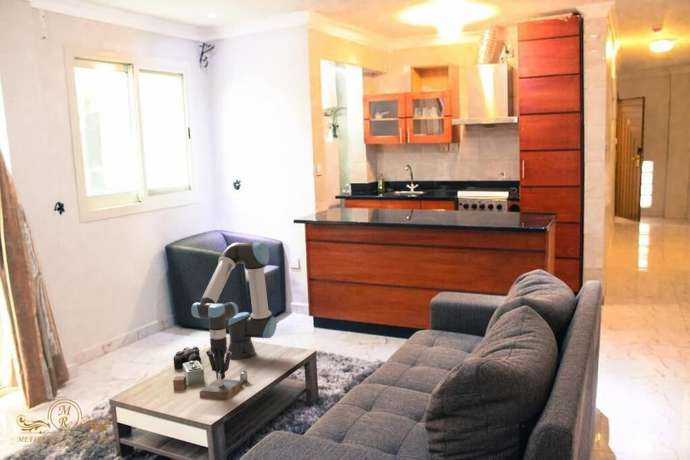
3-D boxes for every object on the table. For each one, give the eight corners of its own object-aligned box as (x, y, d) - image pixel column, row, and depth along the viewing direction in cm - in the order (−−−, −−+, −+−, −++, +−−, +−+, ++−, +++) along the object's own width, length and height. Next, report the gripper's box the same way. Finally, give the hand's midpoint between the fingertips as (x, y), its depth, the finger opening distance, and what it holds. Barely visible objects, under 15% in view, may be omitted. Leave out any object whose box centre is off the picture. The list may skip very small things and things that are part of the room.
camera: (184, 373, 300) (182, 354, 299) (172, 369, 306) (171, 351, 305) (208, 364, 312) (207, 346, 311) (196, 360, 319) (195, 343, 317)
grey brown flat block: (217, 383, 283) (217, 378, 283) (242, 386, 279) (242, 380, 279) (199, 396, 268) (199, 390, 268) (226, 399, 264) (225, 393, 264)
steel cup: (242, 380, 287) (241, 370, 286) (249, 381, 285) (248, 371, 285) (239, 383, 283) (238, 373, 283) (245, 383, 282) (245, 374, 281)
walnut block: (176, 385, 283) (175, 376, 283) (186, 385, 283) (185, 375, 283) (173, 389, 278) (173, 380, 278) (184, 389, 278) (183, 379, 278)
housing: (199, 373, 299) (198, 358, 298) (204, 382, 286) (203, 366, 285) (183, 376, 296) (182, 360, 294) (188, 385, 283) (187, 369, 282)
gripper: (201, 338, 269) (205, 386, 272) (226, 340, 265) (229, 389, 268) (210, 333, 276) (213, 381, 279) (234, 335, 272) (237, 383, 275)
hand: (221, 385), depth 273 cm, fingers closed, pressing on grey brown flat block
